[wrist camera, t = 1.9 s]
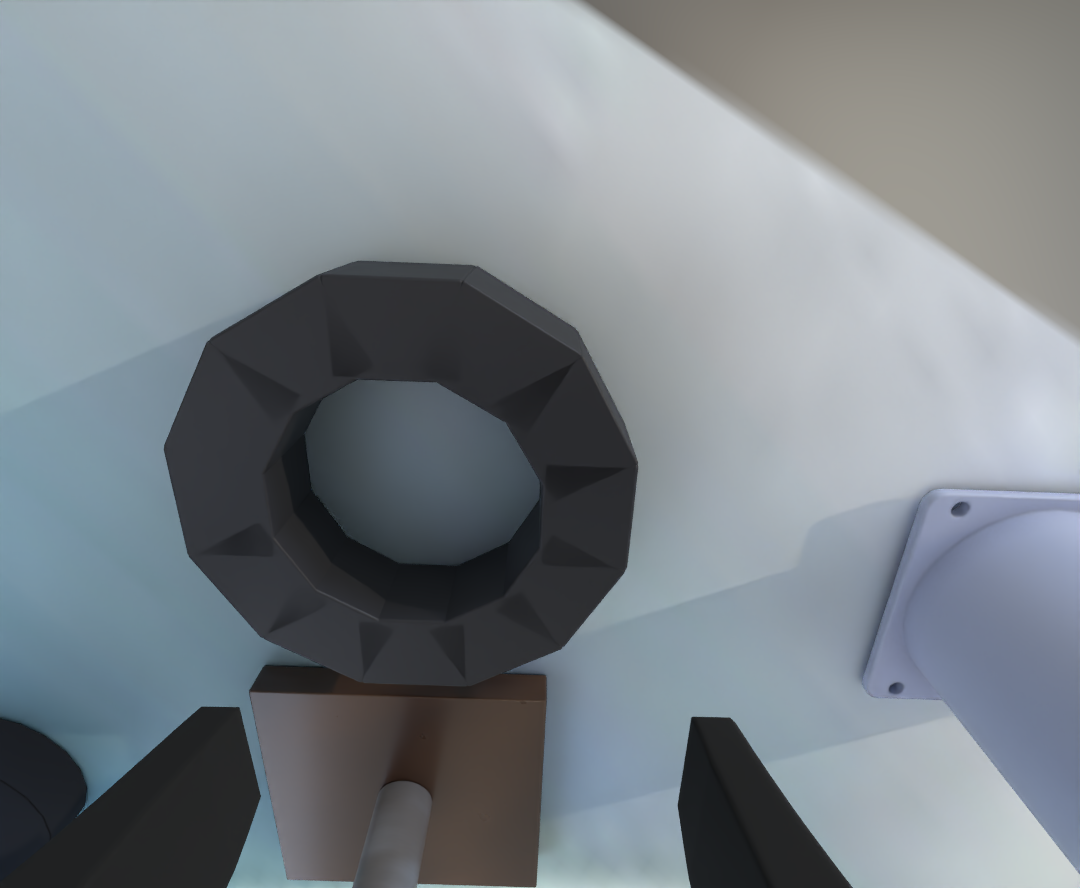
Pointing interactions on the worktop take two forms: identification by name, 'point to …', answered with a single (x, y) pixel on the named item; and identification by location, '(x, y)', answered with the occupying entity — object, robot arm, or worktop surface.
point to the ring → (351, 568)
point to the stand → (403, 777)
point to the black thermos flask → (34, 793)
